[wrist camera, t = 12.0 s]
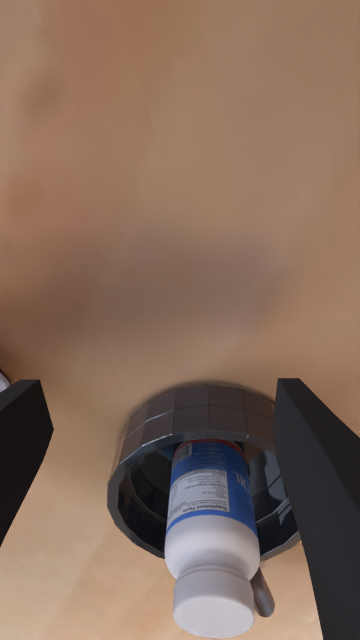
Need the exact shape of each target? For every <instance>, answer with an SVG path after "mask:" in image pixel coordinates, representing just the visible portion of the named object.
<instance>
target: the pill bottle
mask: <svg viewBox="0 0 360 640" xmlns="http://www.w3.org/2000/svg"><path fill="white" fill-rule="evenodd" d="M165 561H166V564H167V567H168V569H169V571H170V572H171V574H172V575H173V576H174V577H175V578H176V579H177V580H176V582H175V587H174V606H173V616H174V620H175V622H176V623H177V624H178V626H179V627H181V628H182V629H183V630H185V631H187V632H189V633H191V634H194V635H197V636H201V637H206V638H229V637H233V636H237V635H240V634H243V633H245V632H246V631H248V630H249V629H250V628H251V627H252V626H253V624H254V621H255V612H254V600H253V590H252V588H251V584H250V581H249V580H250V579H251V578H252V577H253V576H254V575H255V573H256V572H257V570H258V567H259V564H260V550H259V541H258V535H257V528H256V522H255V515H254V509H253V502H252V495H251V489H250V483H249V476H248V469H247V463H246V459H245V455H244V453H243V451H242V449H241V448H240V447H239V446H238V445H237V444H236V443H235V442H233V441H229V440H221V439H212V438H208V439H199V440H191V441H184V442H183V443H182V444H181V445H180V446H179V447H178V448H177V450H176V452H175V454H174V457H173V462H172V473H171V485H170V496H169V507H168V518H167V529H166V539H165Z"/></svg>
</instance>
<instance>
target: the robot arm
mask: <svg viewBox="0 0 360 640" xmlns="http://www.w3.org/2000/svg"><path fill="white" fill-rule="evenodd" d="M9 385H10V384H9V382H8V380H7V379H6V378H5V377H4V376H3V375H2V374H1V373H0V547H1V544H2V542H3V540H4V538H5V536H6V534H7V532H8V530H9V528H10V526H11V524H12V522H13V520H14V518H15V516H16V514H17V512H18V510H19V508H20V506H21V504H22V502H23V500H24V498H25V496H26V494H27V492H28V490H29V488H30V486H31V484H32V482H33V480H34V478H35V476H36V474H37V472H38V470H39V468H40V466H41V464H42V462H43V459H44V457H45V454H46V451H47V448H48V446H49V443H50V440H51V436H52V433H53V430H54V428H53V425H52V421H51V418H50V414H49V411H48V407H47V404H46V400H45V397H44V393H43V390H42V386H41V383H40V380H19V381H17V382H16V383H14V384H12V385H11V386H9ZM272 432H273V438H274V443H275V449H276V454H277V460H278V464H279V468H280V471H281V475H282V478H283V481H284V485H285V488H286V491H287V495H288V498H289V501H290V504H291V508H292V511H293V514H294V517H295V521H296V524H297V527H298V531H299V534H300V537H301V540H302V544H303V547H304V551H305V555H306V559H307V563H308V567H309V572H310V577H311V581H312V586H313V591H314V595H315V600H316V605H317V610H318V615H319V620H320V625H321V630H322V635H323V640H360V438H359V437H358V436H357V435H356V434H355V433H354V432H352V431H351V430H350V429H349V428H348V427H347V426H346V425H345V424H344V423H343V422H342V421H341V420H340V419H339V418H338V417H337V416H336V415H335V414H334V413H333V412H332V411H331V410H330V409H329V408H328V407H327V406H326V405H325V404H324V403H323V402H322V401H321V400H320V399H319V398H318V397H317V396H316V395H315V394H314V393H313V392H312V391H311V390H310V389H309V388H308V387H307V386H306V385H305V384H304V383H303V382H302V381H301V380H300V379H299V378H278V381H277V391H276V400H275V410H274V419H273V429H272Z"/></svg>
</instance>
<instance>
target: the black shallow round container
mask: <svg viewBox="0 0 360 640" xmlns="http://www.w3.org/2000/svg"><path fill="white" fill-rule="evenodd" d="M274 410H275V405H274V404H273V403H272V402H271V401H269V400H267V399H265V398H263V397H260V396H258V395H255V394H253V393H250V392H248V391H245V390H243V389H240V388H232V387H224V386H215V385H203V386H195V387H188V388H181V389H175V390H173V391H171V392H168V393H166V394H164V395H161V396H159V397H157V398H154V399H152V400H150V401H149V402H148V403H147V404H145V405H144V406H143V407H142V408H141V409H140V410H139V411H137V412H136V413H135V414H134V415H133V416H132V417H131V418H130V419H129V421H128V423H127V425H126V427H125V429H124V431H123V433H122V435H121V437H120V441H119V445H118V448H117V452H116V456H115V459H114V463H113V466H112V470H111V474H110V477H109V481H108V485H107V508H108V510H109V512H110V514H111V516H112V518H113V520H114V523H115V525H116V527H117V528H119V529H120V530H121V531H122V532H123V533H124V534H125V535H126V536H127V537H128V538H129V539H130V540H131V541H132V542H133V543H134V544H135V545H137V546H139V547H141V548H142V549H144V550H146V551H148V552H150V553H151V554H153V555H155V556H157V557H160V558H163V559H165V539H166V529H167V518H168V507H169V496H170V485H171V473H172V462H173V457H174V454H175V452H176V450H177V448H178V447H179V446H180V445H181V444H182V443H183V442H184V441H191V440H199V439H208V438H212V439H221V440H229V441H233V442H235V443H236V444H237V445H238V446H239V447H240V448H241V449H242V451H243V453H244V455H245V459H246V463H247V469H248V476H249V483H250V489H251V495H252V502H253V509H254V515H255V522H256V528H257V535H258V541H259V550H260V562H261V561H265V560H268V559H271V558H272V557H274V556H276V555H278V554H280V553H282V552H284V551H286V550H288V549H290V548H292V547H293V546H295V545H296V544H297V543H298V542H299V541H300V540H301V537H300V534H299V531H298V527H297V524H296V521H295V517H294V514H293V511H292V508H291V504H290V501H289V498H288V495H287V491H286V488H285V485H284V481H283V478H282V475H281V471H280V468H279V464H278V460H277V454H276V449H275V443H274V438H273V432H272V429H273V419H274Z"/></svg>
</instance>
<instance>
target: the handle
mask: <svg viewBox="0 0 360 640" xmlns="http://www.w3.org/2000/svg"><path fill="white" fill-rule="evenodd" d="M249 581H250V584H251V588H252V590H253V600H254V609H255V611H256V612H257V613H258V614H259V615H260V616H262V617H269V616H271V615H272V613H273V612H274V608H275V603H274V599H273V597H272V595H271V592H270V590H269V588H268V586H267V583H266V581H265V579H264V577H263V574H262V572H261V570H260V567H258V570H257V572H256V573H255V575H254V576H253V577H252V578H251V579H250V580H249Z"/></svg>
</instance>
